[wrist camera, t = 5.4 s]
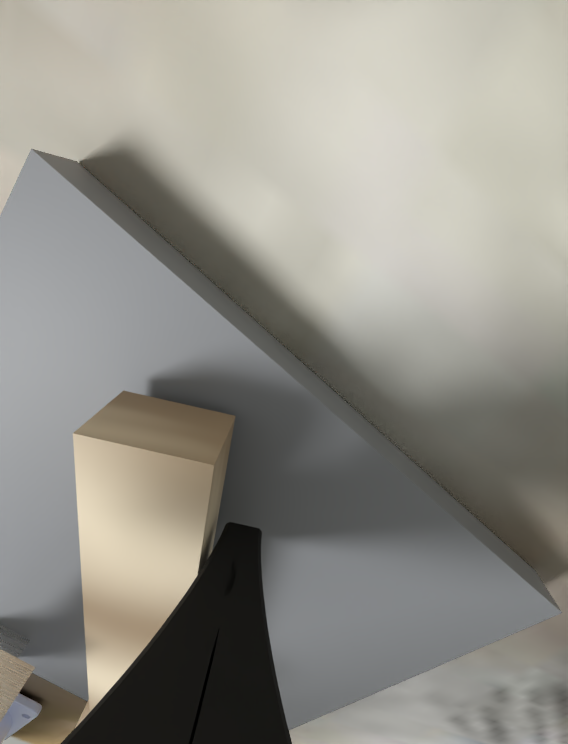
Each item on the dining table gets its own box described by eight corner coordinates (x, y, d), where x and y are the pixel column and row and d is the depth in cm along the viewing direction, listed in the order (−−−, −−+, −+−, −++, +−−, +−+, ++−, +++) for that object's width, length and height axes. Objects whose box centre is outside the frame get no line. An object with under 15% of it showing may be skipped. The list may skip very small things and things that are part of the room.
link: (200, 712, 16) (164, 862, 12) (106, 691, 15) (42, 835, 12) (262, 417, 9) (225, 548, 5) (101, 381, 9) (-47, 487, 5)
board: (216, 726, 20) (209, 764, 18) (-122, 541, 15) (-165, 571, 14) (535, 571, 13) (562, 612, 11) (76, 161, 9) (31, 149, 7)
